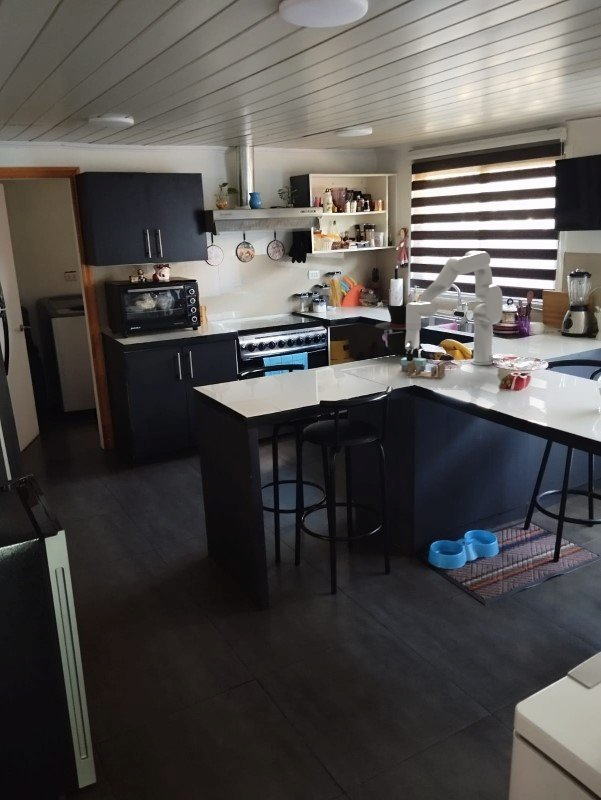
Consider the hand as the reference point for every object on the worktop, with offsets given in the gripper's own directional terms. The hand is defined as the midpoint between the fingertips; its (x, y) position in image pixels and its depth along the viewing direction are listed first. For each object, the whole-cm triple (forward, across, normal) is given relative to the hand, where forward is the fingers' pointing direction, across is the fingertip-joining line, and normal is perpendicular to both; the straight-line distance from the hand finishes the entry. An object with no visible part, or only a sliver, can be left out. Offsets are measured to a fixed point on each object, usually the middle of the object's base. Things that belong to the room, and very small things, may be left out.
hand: (412, 359), depth 326 cm
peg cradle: (+6, +10, +10) cm, 16 cm away
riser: (+6, 0, 0) cm, 6 cm away
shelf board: (+3, 0, 0) cm, 3 cm away
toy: (+6, -36, -18) cm, 40 cm away
